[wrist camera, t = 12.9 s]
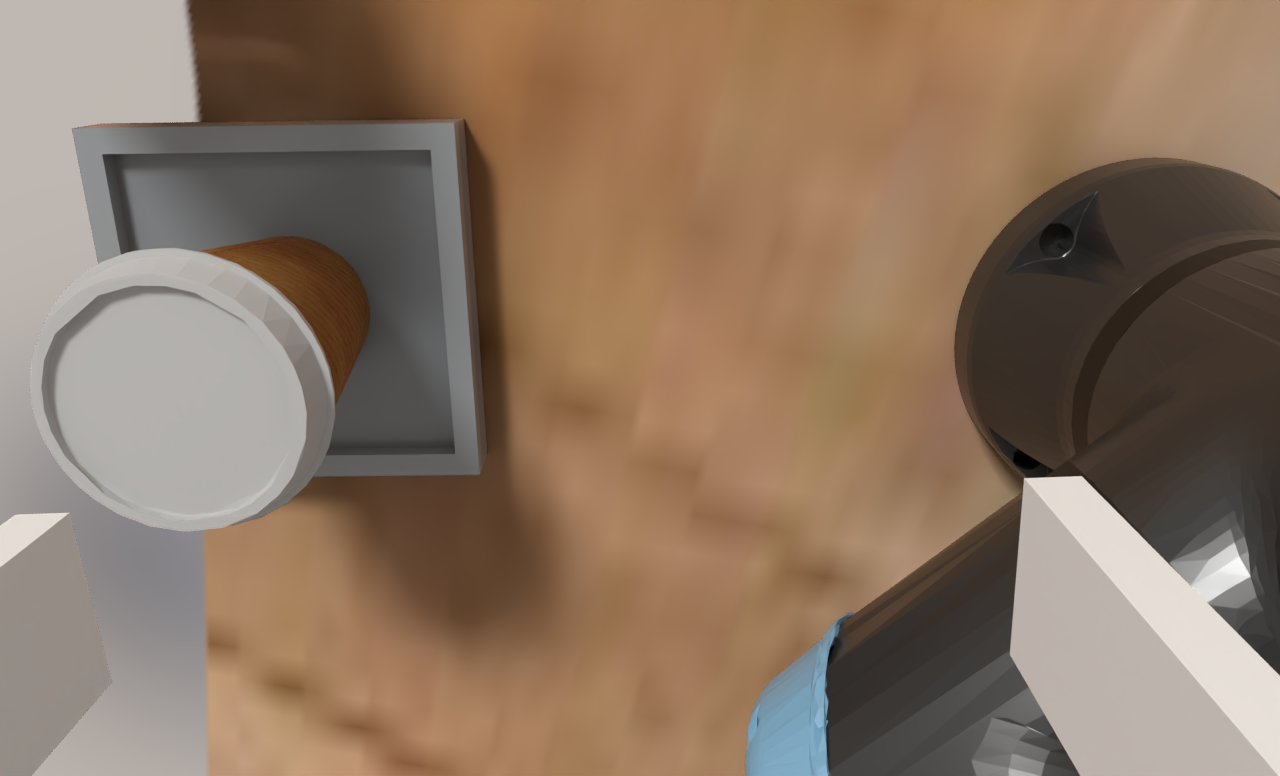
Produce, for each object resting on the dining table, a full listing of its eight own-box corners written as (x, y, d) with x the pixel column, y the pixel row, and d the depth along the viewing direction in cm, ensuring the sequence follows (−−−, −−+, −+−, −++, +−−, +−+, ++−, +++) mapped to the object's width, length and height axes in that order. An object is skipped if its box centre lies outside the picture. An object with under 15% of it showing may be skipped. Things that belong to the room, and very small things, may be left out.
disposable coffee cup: (348, 451, 45) (247, 592, 33) (148, 344, 43) (-30, 454, 32) (448, 272, 42) (374, 359, 31) (238, 150, 40) (78, 195, 29)
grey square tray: (464, 118, 41) (453, 122, 39) (487, 454, 46) (479, 474, 44) (101, 123, 41) (71, 128, 39) (163, 457, 46) (140, 478, 44)
